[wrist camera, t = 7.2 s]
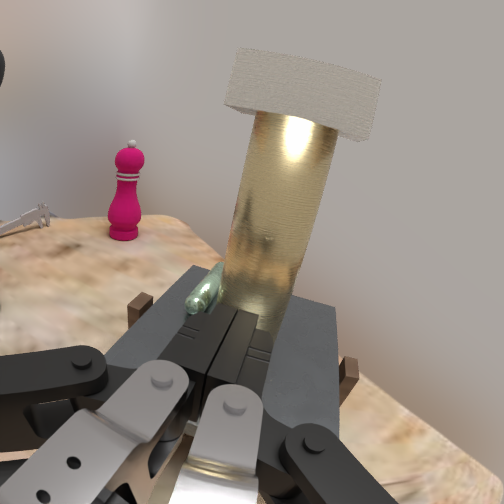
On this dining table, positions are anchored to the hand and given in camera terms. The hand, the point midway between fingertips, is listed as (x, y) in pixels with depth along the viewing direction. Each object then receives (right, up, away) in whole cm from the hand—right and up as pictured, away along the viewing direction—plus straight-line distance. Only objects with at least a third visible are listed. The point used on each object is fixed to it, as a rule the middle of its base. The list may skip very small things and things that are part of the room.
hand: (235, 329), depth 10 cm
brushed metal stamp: (0, -5, +12) cm, 13 cm away
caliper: (-50, +6, +32) cm, 60 cm away
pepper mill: (-27, +6, +45) cm, 53 cm away
